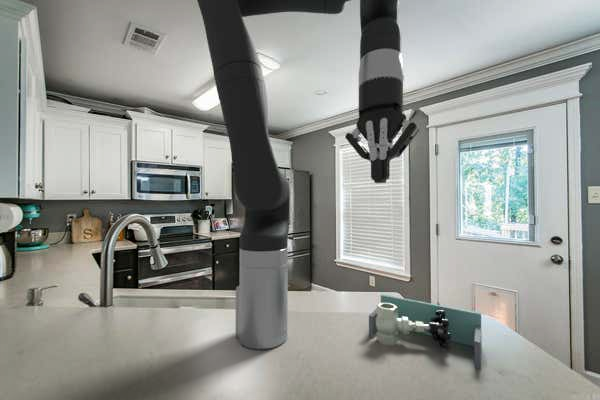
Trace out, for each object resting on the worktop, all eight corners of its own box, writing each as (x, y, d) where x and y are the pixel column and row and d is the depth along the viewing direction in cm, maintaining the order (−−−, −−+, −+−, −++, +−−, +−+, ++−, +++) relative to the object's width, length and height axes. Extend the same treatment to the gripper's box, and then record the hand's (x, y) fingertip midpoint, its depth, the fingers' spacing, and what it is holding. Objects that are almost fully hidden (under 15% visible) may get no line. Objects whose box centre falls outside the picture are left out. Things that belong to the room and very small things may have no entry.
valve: (376, 349, 48) (450, 357, 45) (376, 311, 48) (450, 318, 45) (374, 332, 54) (439, 338, 51) (374, 299, 54) (439, 304, 52)
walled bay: (368, 336, 52) (368, 305, 52) (382, 321, 59) (381, 294, 59) (480, 368, 42) (480, 329, 42) (481, 346, 48) (481, 312, 48)
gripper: (336, 86, 48) (336, 182, 48) (415, 64, 40) (415, 178, 40) (354, 100, 54) (354, 185, 54) (425, 83, 47) (425, 182, 46)
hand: (380, 182), depth 47 cm, fingers closed
